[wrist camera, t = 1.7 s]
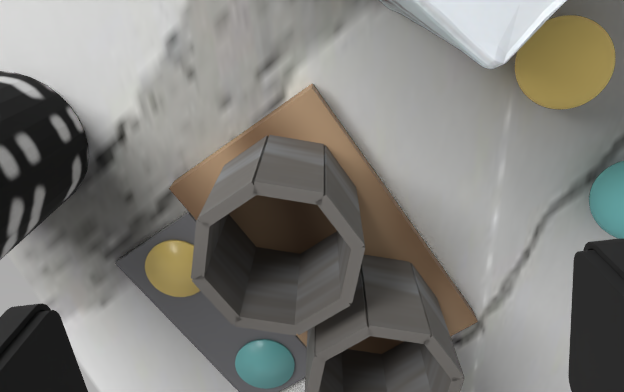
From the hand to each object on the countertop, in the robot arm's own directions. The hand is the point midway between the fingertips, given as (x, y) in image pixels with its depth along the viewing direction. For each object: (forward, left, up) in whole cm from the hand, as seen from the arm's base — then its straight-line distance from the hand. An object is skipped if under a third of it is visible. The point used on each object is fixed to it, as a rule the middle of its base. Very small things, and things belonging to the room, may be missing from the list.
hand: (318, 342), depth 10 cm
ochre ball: (-11, +5, -22) cm, 25 cm away
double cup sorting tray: (+5, +8, -22) cm, 24 cm away
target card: (+14, +8, -22) cm, 27 cm away
